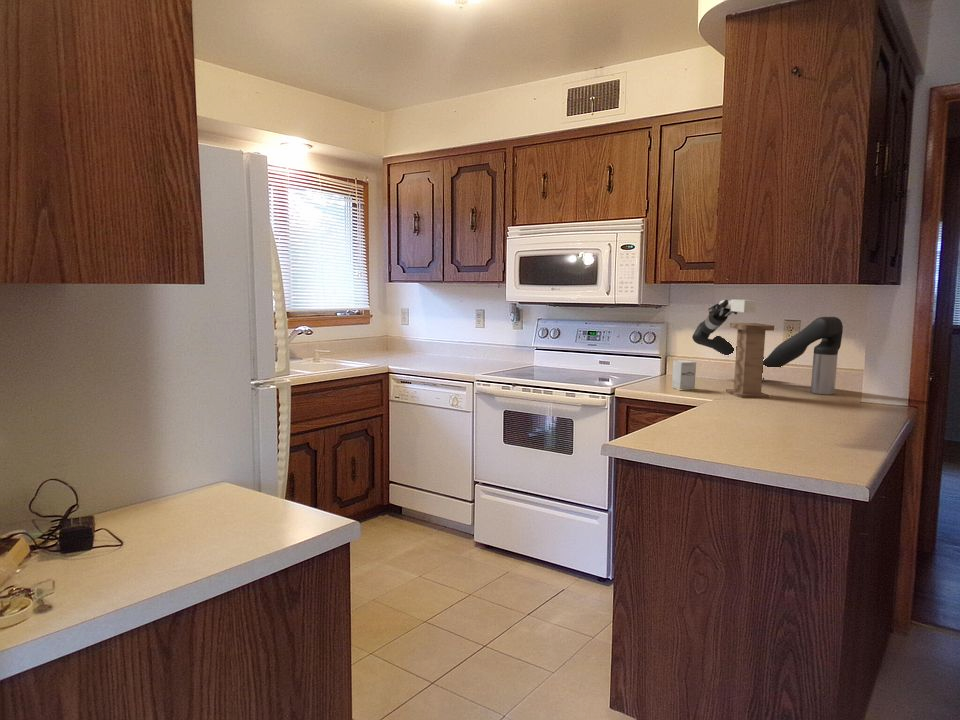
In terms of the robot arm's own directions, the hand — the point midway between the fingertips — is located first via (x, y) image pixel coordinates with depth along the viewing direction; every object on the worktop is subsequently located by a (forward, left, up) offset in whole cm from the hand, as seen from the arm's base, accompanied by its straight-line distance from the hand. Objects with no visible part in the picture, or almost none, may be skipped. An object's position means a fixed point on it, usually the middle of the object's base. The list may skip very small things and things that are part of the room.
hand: (731, 301), depth 289 cm
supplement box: (+21, -8, -39) cm, 45 cm away
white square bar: (+2, +4, -4) cm, 6 cm away
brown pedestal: (+10, +16, -39) cm, 43 cm away
